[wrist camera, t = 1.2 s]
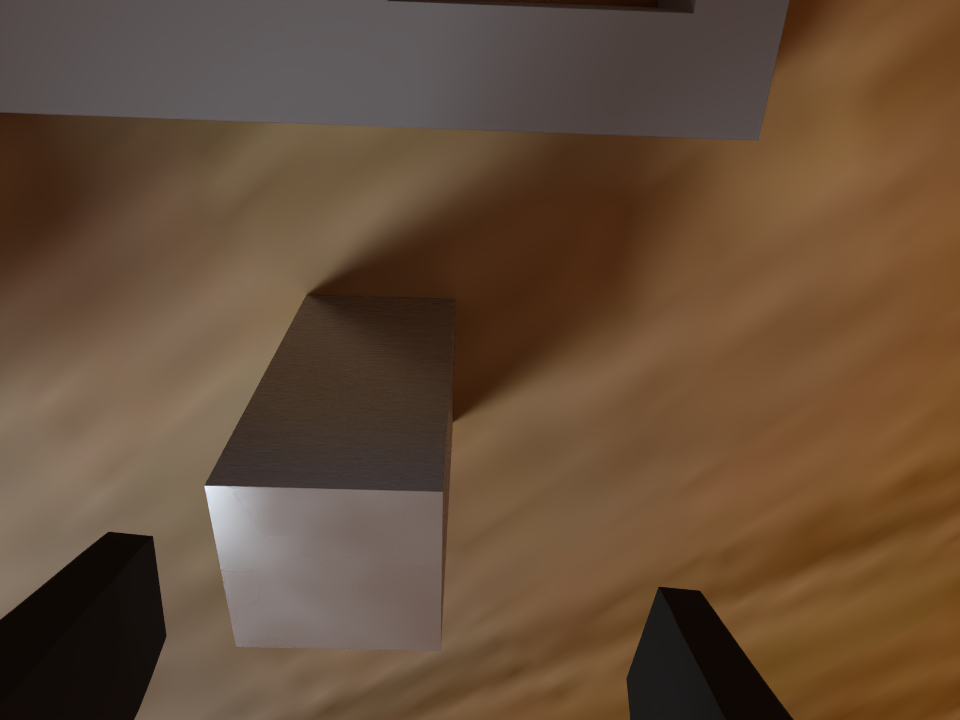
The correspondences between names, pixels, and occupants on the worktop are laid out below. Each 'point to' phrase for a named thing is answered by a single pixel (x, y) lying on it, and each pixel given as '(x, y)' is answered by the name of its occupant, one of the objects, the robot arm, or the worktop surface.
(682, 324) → the worktop surface
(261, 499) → the peg
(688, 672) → the robot arm
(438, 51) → the socket plate
